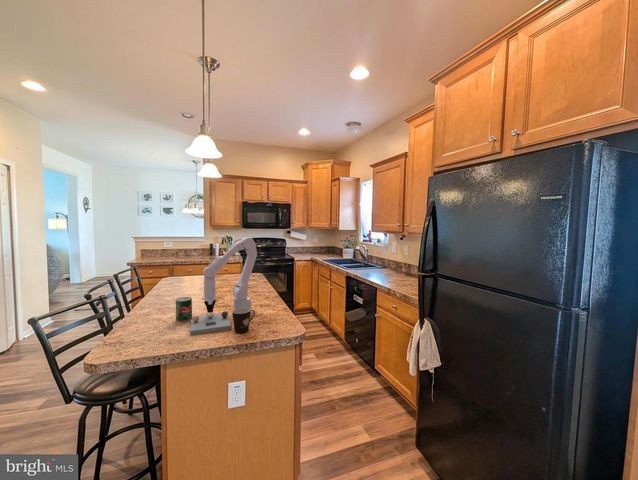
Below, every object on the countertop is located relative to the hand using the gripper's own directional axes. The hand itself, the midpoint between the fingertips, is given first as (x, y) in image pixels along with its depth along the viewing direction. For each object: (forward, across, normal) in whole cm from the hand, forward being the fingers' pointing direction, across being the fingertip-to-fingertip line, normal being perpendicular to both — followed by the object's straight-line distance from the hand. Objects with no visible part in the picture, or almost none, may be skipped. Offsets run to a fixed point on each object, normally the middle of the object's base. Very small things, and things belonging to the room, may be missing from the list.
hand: (210, 314), depth 144 cm
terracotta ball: (-1, +7, -7) cm, 10 cm away
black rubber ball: (-1, +6, +7) cm, 9 cm away
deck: (+3, +9, 0) cm, 9 cm away
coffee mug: (+3, +23, +15) cm, 28 cm away
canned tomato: (+3, -6, -13) cm, 15 cm away
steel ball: (-1, +4, 0) cm, 4 cm away
